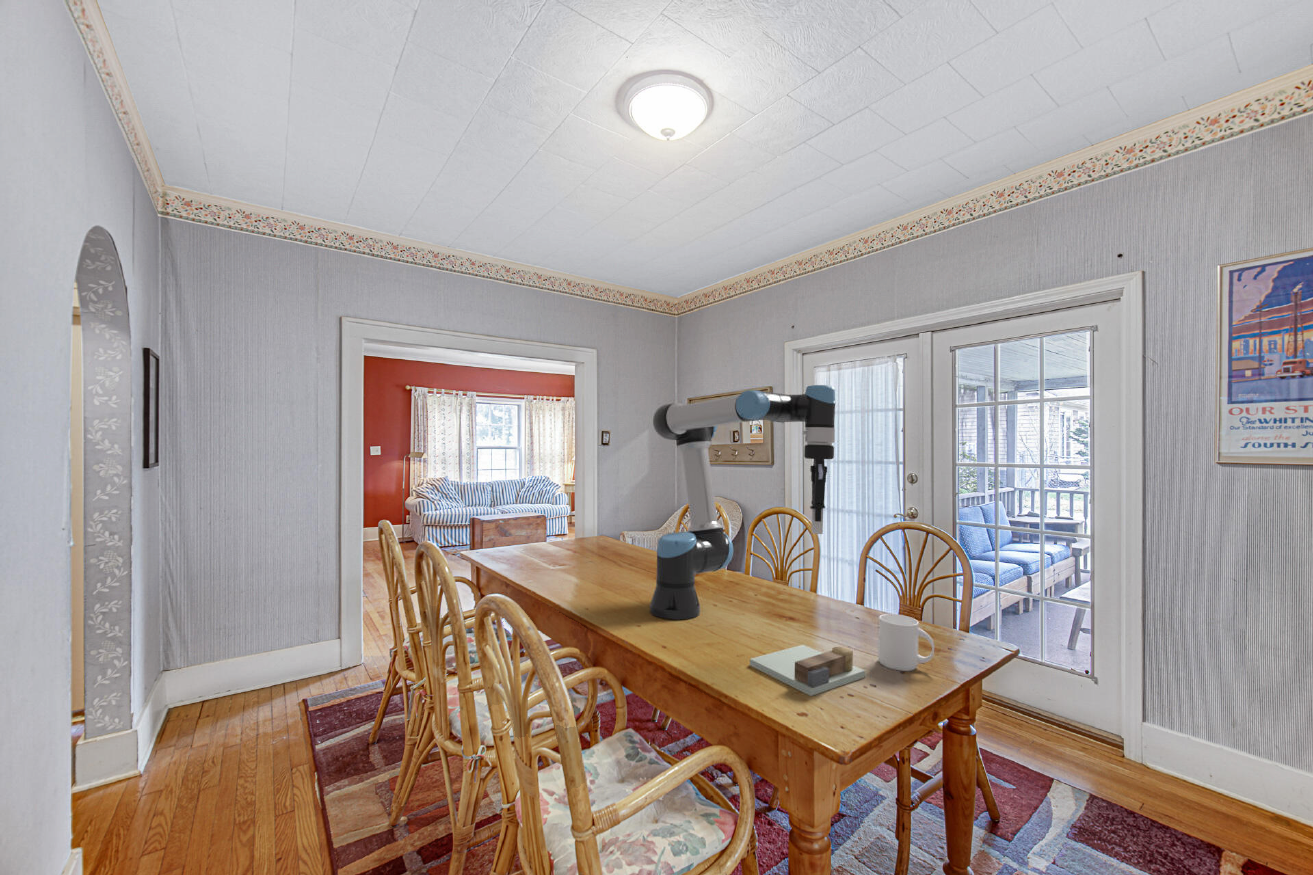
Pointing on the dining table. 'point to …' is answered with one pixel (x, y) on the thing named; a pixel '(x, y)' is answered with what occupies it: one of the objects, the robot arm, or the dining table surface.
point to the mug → (900, 642)
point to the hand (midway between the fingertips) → (817, 533)
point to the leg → (825, 663)
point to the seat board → (784, 669)
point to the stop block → (818, 677)
